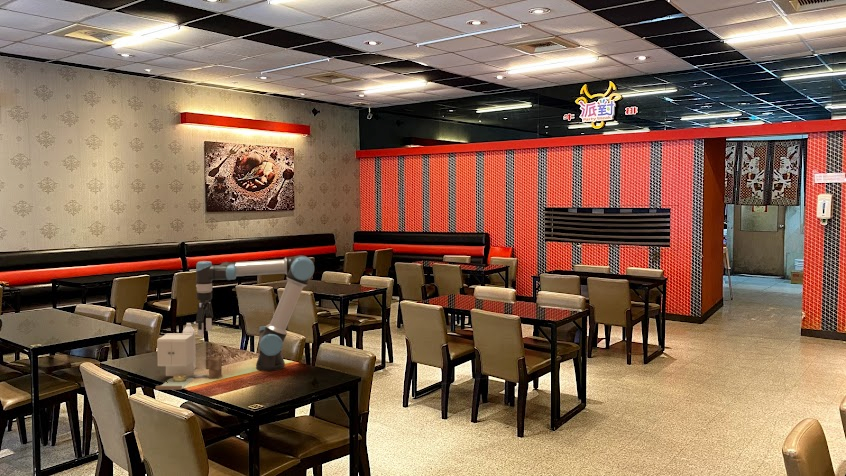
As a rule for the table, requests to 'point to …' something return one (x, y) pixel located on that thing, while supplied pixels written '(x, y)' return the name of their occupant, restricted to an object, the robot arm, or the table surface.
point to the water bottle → (190, 330)
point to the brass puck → (179, 378)
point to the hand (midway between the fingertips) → (204, 333)
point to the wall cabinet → (176, 353)
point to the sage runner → (174, 384)
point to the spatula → (211, 369)
